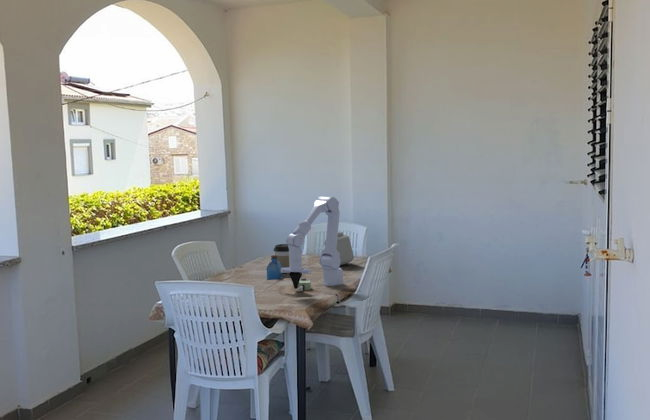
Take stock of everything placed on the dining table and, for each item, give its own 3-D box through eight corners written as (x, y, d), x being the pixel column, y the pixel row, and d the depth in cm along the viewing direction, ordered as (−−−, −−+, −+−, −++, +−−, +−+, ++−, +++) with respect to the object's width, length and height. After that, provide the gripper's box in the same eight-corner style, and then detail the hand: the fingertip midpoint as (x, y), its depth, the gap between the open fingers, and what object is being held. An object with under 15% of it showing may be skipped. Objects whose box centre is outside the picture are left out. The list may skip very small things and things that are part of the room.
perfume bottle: (271, 277, 321) (270, 254, 320) (282, 277, 319) (281, 255, 318) (267, 279, 315) (266, 256, 314) (278, 280, 313) (277, 257, 312)
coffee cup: (277, 270, 339) (276, 243, 338) (297, 270, 337) (296, 243, 335) (271, 274, 328) (270, 246, 327) (291, 274, 326) (291, 247, 324)
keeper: (299, 287, 289) (299, 280, 289) (311, 287, 288) (310, 280, 288) (298, 290, 285) (297, 282, 284) (309, 290, 284) (309, 282, 284)
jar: (319, 267, 345) (318, 223, 342) (323, 262, 359) (322, 220, 357) (352, 267, 342) (351, 223, 339) (355, 262, 356) (354, 220, 354)
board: (309, 286, 298) (309, 276, 297) (321, 293, 282) (321, 283, 281) (272, 289, 291) (272, 280, 291) (281, 297, 275) (281, 287, 275)
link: (300, 284, 295) (300, 280, 295) (307, 284, 295) (307, 280, 295) (296, 291, 281) (296, 287, 280) (303, 291, 280) (303, 287, 280)
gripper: (277, 260, 280) (278, 289, 281) (306, 261, 275) (307, 291, 276) (283, 257, 287) (284, 285, 288) (312, 259, 282) (313, 287, 283)
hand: (296, 288), depth 283 cm, fingers closed
